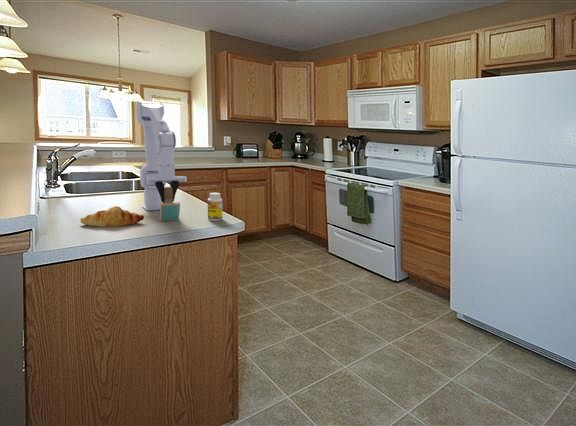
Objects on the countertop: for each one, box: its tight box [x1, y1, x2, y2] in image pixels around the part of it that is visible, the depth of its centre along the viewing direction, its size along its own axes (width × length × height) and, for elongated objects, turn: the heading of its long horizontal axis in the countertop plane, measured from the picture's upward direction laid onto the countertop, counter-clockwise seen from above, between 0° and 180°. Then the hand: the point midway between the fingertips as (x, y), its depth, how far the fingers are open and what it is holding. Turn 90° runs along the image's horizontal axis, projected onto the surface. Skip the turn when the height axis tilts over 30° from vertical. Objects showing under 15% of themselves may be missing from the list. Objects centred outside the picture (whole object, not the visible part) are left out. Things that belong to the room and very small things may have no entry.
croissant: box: [79, 205, 145, 228], centre depth 146 cm, size 21×10×8 cm
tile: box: [159, 202, 181, 222], centre depth 153 cm, size 1×7×7 cm, turn 121°
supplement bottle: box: [207, 192, 223, 222], centre depth 157 cm, size 6×6×10 cm
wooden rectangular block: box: [163, 186, 174, 203], centre depth 155 cm, size 3×3×9 cm
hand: (167, 201), depth 155 cm, fingers closed on wooden rectangular block, 3 cm apart
